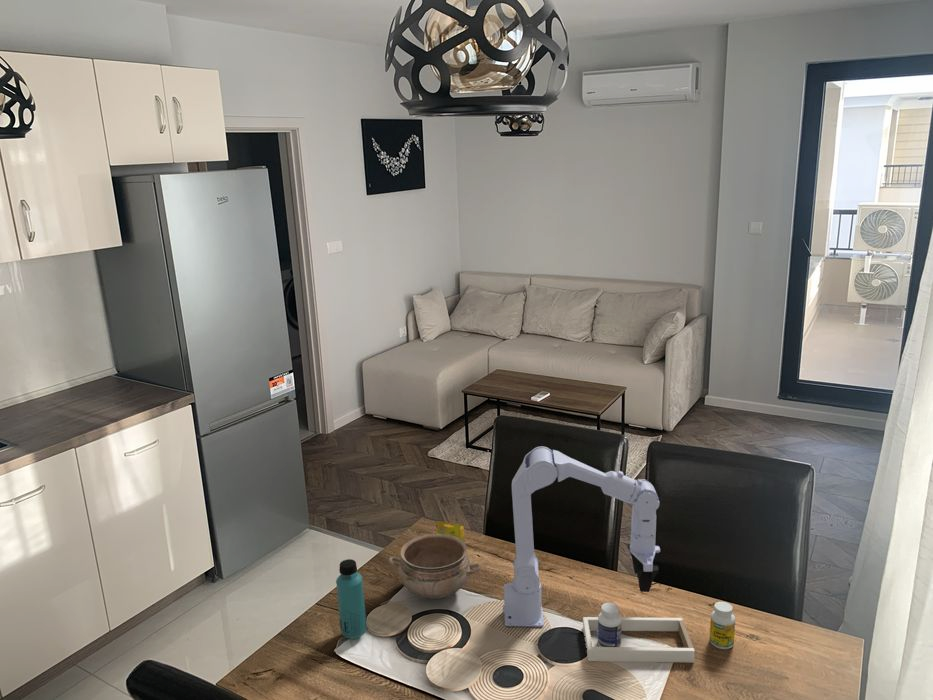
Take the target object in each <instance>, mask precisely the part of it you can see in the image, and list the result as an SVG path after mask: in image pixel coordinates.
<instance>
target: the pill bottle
mask: <svg viewBox="0 0 933 700" xmlns="http://www.w3.org/2000/svg"><path fill="white" fill-rule="evenodd" d="M600 607H601V609H600V613H599V614H598V616H597V617H598V631H597V645H598V647H622V631H621V626H622V619H621V615H620V614H619V613H620V607H619V606H618V605H617V604H615V603H612V602H605V603H603V604H602V605H601V606H600Z"/></svg>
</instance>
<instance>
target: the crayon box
mask: <svg viewBox="0 0 933 700" xmlns="http://www.w3.org/2000/svg"><path fill="white" fill-rule="evenodd" d="M436 525H437V528H436V530H437V534H447V535H452V536H455V537H457V538H459V539H461V540H462V541H463V542H464V543H465V542H466V541H465V526H463V525H461V524H458V523H453V522H445V521H439V520H437V524H436ZM465 544H466V543H465Z"/></svg>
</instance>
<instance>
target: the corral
mask: <svg viewBox="0 0 933 700" xmlns="http://www.w3.org/2000/svg"><path fill="white" fill-rule="evenodd" d="M621 619H622V626H621V632H623V631H624V632H677V633H678V634H679V637H680V640H681V644H682V646H683V647H642V646H641V647H640V646H639V647H634V646H632V647H629V646H625V647H624V646H620V647H600V646H593V641H592V636H591V631H597V632H598V616H583V617H582V629H583V636H585V637H584V641H585V642H586V643H585V642H584V643H585V649H586V648H587V650H586V654H587V661H588V662H618V663H619V662H624V663H625V662H626V663H627V662H631V663H634V662H635V663H637V662H640V663H695V653H696V652H695V647H694V646H693V643H692V640H691V637H690V635H689V633H688V630H687V628H686V625H685V622H684V619H683V617H641V616H640V617H639V616H638V617H637V616H636V617H633V616H632V617H629V616H628V617H627V616H626V617H624V616H623V617H621Z"/></svg>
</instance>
